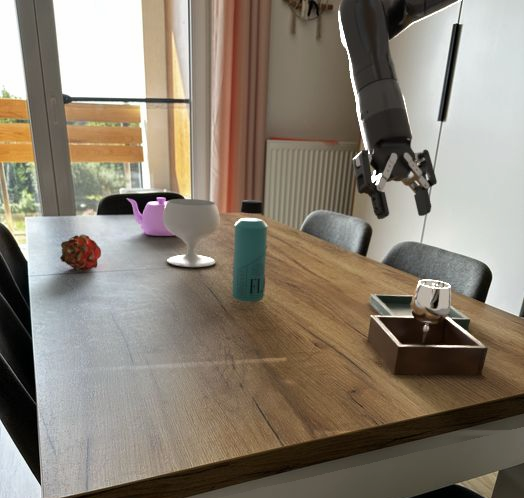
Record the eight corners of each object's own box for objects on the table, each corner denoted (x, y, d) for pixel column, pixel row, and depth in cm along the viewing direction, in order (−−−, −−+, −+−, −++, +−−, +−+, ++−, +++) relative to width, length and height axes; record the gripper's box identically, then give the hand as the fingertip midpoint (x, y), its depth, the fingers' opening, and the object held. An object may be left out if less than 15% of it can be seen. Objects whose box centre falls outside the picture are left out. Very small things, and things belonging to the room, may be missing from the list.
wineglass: (399, 359, 81) (412, 285, 76) (404, 347, 86) (417, 277, 81) (437, 366, 79) (453, 291, 74) (440, 353, 84) (455, 282, 79)
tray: (436, 305, 109) (438, 295, 108) (468, 330, 95) (470, 319, 95) (369, 303, 107) (370, 294, 106) (392, 328, 94) (394, 317, 93)
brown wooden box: (443, 341, 89) (448, 316, 87) (481, 375, 77) (488, 347, 75) (367, 340, 88) (370, 315, 86) (393, 374, 75) (398, 346, 73)
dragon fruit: (74, 282, 114) (83, 276, 126) (105, 260, 114) (112, 256, 125) (48, 250, 112) (60, 247, 123) (80, 228, 111) (89, 226, 123)
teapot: (128, 228, 169) (127, 193, 164) (190, 230, 172) (190, 196, 168) (126, 236, 157) (124, 199, 152) (192, 238, 160) (192, 201, 156)
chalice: (164, 269, 123) (163, 205, 117) (162, 256, 136) (161, 197, 130) (222, 269, 126) (224, 207, 120) (215, 256, 139) (216, 199, 133)
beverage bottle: (248, 311, 98) (253, 203, 90) (224, 303, 102) (227, 198, 94) (270, 305, 102) (277, 201, 95) (246, 297, 106) (251, 197, 99)
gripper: (360, 104, 76) (384, 210, 76) (432, 106, 82) (455, 204, 82) (334, 130, 83) (355, 227, 83) (402, 130, 89) (422, 221, 89)
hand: (404, 215), depth 82 cm, fingers open, 8 cm apart
